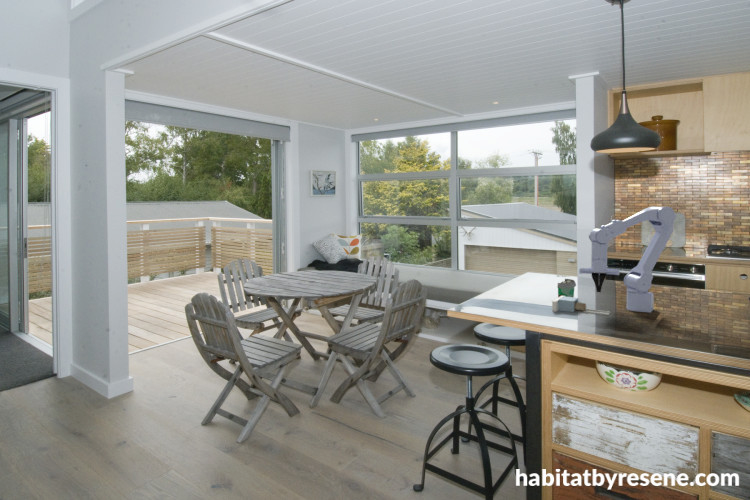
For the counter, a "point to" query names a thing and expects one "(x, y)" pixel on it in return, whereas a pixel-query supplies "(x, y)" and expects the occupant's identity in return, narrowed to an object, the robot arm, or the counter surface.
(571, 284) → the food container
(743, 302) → the counter surface
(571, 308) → the block
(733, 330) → the counter surface
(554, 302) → the wall
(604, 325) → the counter surface
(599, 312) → the cradle
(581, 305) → the dowel
